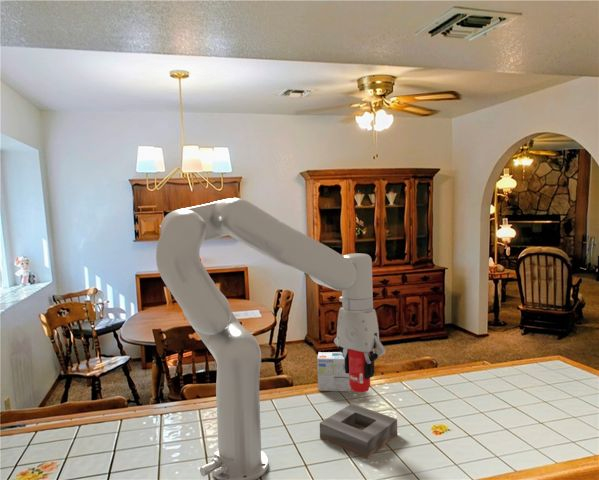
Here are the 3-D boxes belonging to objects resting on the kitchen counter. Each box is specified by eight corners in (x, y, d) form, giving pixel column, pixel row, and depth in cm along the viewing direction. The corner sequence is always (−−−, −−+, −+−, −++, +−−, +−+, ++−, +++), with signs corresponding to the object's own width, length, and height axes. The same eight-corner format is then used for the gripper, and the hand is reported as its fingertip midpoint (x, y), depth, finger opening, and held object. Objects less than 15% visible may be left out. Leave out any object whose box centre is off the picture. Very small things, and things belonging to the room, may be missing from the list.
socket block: (366, 458, 99) (366, 442, 99) (319, 438, 108) (319, 422, 108) (397, 434, 109) (397, 419, 109) (352, 417, 119) (351, 403, 118)
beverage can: (345, 387, 109) (344, 341, 108) (362, 383, 112) (361, 338, 111) (356, 395, 105) (355, 347, 104) (374, 390, 107) (373, 343, 106)
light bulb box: (350, 383, 142) (350, 351, 141) (351, 392, 135) (350, 358, 134) (318, 382, 143) (318, 351, 142) (317, 391, 136) (316, 358, 135)
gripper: (321, 302, 109) (323, 371, 111) (379, 311, 98) (381, 388, 99) (338, 296, 115) (340, 362, 116) (395, 304, 103) (397, 378, 105)
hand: (359, 373), depth 108 cm, fingers closed on beverage can, 5 cm apart
